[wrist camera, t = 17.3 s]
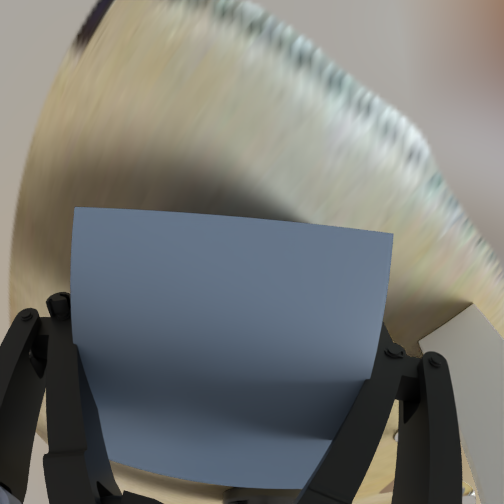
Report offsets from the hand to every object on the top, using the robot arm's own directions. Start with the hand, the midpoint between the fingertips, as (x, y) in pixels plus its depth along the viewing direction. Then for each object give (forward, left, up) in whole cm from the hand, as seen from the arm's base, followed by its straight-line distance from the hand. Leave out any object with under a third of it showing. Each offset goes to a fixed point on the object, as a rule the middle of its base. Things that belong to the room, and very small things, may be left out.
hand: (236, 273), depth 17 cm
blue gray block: (-3, 0, +1) cm, 3 cm away
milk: (-6, -19, -2) cm, 20 cm away
